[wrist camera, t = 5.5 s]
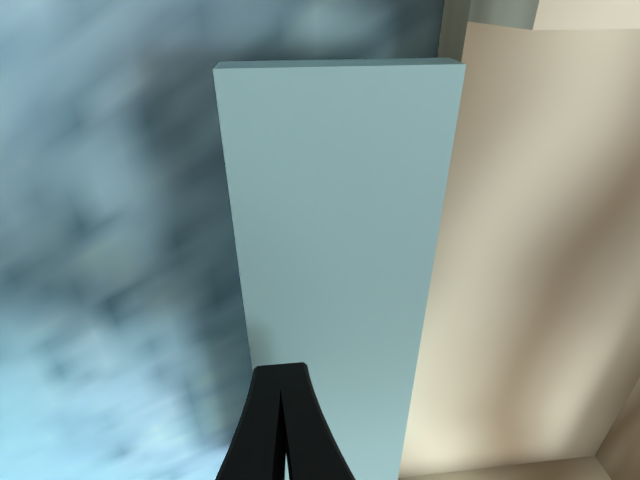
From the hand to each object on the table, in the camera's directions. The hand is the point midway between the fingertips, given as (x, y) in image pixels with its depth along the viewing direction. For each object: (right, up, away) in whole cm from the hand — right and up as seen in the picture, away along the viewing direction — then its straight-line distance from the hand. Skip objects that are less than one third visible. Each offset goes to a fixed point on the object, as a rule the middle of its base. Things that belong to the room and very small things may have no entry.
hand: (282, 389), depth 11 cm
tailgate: (+4, +1, +2) cm, 5 cm away
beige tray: (+9, +2, +4) cm, 10 cm away
